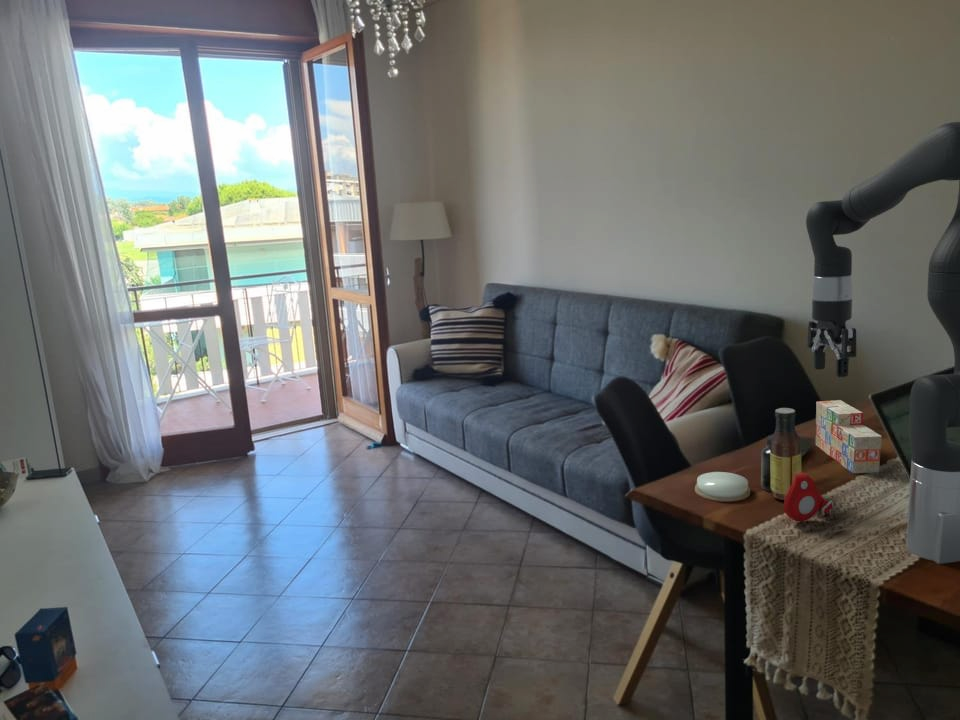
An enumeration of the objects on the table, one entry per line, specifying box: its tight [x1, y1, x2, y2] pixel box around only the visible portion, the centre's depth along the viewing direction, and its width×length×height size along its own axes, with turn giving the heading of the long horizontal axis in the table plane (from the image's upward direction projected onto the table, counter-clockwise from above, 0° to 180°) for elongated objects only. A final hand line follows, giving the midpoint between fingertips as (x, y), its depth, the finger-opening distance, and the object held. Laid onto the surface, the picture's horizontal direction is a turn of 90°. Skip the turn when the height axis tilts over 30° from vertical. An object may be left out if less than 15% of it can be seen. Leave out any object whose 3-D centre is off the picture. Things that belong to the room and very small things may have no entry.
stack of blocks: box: [815, 399, 883, 474], centre depth 176 cm, size 21×6×12 cm, turn 178°
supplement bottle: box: [760, 434, 774, 493], centre depth 161 cm, size 7×7×12 cm
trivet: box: [694, 471, 751, 503], centre depth 162 cm, size 12×12×2 cm
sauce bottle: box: [770, 407, 802, 501], centre depth 154 cm, size 7×6×20 cm
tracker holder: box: [783, 472, 834, 522], centre depth 145 cm, size 12×4×10 cm, turn 105°
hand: (830, 372), depth 152 cm, fingers open, 8 cm apart
